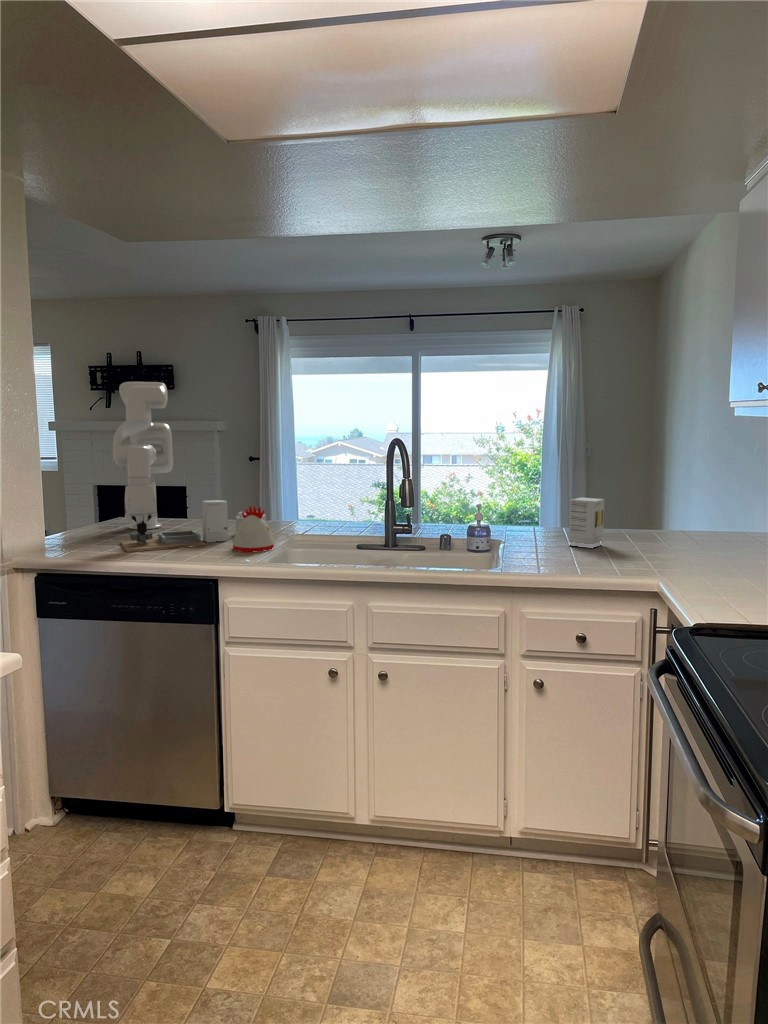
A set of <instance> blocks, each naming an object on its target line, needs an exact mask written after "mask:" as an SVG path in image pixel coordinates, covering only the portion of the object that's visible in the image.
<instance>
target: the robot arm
mask: <svg viewBox="0 0 768 1024" xmlns="http://www.w3.org/2000/svg"><path fill="white" fill-rule="evenodd" d="M118 389H119V391H118V392H119V396H120V398H121V401H122V403H124V406H125V421H124V422H123V423H122V424H121V425H120V426H119V427H118V428H117V430H116V431H115V433H114V435H113V440H112V457H113V461H114V463H115V464H116V465H118V466H120V467H127V484H128V485H125V490H124V513H125V514H124V518H125V519H128V520H132V523H130V524H129V525H128V528H129V529H132V530H137V531H136V532H139V534H140V535H142V534H143V535H145V532H147V530H152V529H153V530H154V529H158V528H161V527H162V523H161V522H158V511H157V507H158V506H157V505H158V504H157V487H156V477H153V476H152V474H162V473H163V474H164V473H165V474H167V473H170V472H171V471H173V467H174V456H173V455H174V453H173V450H174V449H173V434H172V430H171V429H172V428H171V426H170V425H169V424H167V423H164V422H152V410H151V409H154V410H155V409H156V410H157V409H165V408H166V407H167V404H168V398H169V397H168V388H167V385H166V384H165V383H164V382H160V381H159V382H158V381H125V382H122V383H121V384H120V385H119V387H118ZM127 438H130V440H129V441H130V444H129V443H128V444H127V443H126V444H125V443H124V444H122V443H123V442H124V440H125V439H127ZM156 447H157V448H160V449H156Z"/></svg>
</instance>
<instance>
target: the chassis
mask: <svg viewBox="0 0 768 1024" xmlns="http://www.w3.org/2000/svg"><path fill="white" fill-rule="evenodd" d="M201 538H202V536H201V534H200V533H199V532H197V531H196V530H178V531H163V532H157V537H152V539H149V540H141V541H140V540H138V541H136V540H131V539H128V540H127V539H125V540H120V544H121V546H122V545H123V546H122V547H123V549H124V548H125V549H124V550H125V552H126V551H127V552H126V553H131V552H130V551H137V552H145V551H144V550H150V551H157V550H156V549H162V550H169V549H168V548H174V549H181V548H180V547H187V548H190V547H189V546H199V547H205V542H203V540H202V539H201Z"/></svg>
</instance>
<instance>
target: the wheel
mask: <svg viewBox="0 0 768 1024" xmlns="http://www.w3.org/2000/svg"><path fill="white" fill-rule="evenodd" d="M152 538H153V532H152V531H147V532H145V535H143V534H142V535H140V534H139V532H137V531H134V532H130V533H129V540H136V541H138V540H140V541H141V540H149V539H152Z"/></svg>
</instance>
